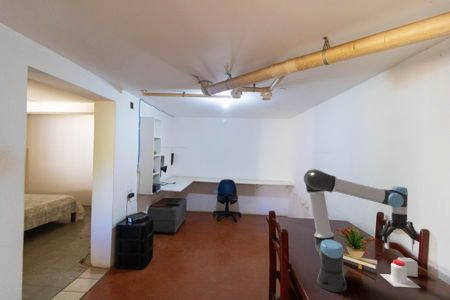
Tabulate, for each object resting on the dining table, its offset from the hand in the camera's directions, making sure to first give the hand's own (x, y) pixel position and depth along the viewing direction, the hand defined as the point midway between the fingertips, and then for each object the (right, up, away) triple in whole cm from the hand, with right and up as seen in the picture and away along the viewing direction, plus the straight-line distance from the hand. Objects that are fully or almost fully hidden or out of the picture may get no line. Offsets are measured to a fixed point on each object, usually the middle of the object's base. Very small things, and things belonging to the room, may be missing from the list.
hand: (398, 249), depth 143 cm
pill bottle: (0, -18, -1) cm, 18 cm away
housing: (+12, -19, +9) cm, 24 cm away
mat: (0, -19, -1) cm, 19 cm away
